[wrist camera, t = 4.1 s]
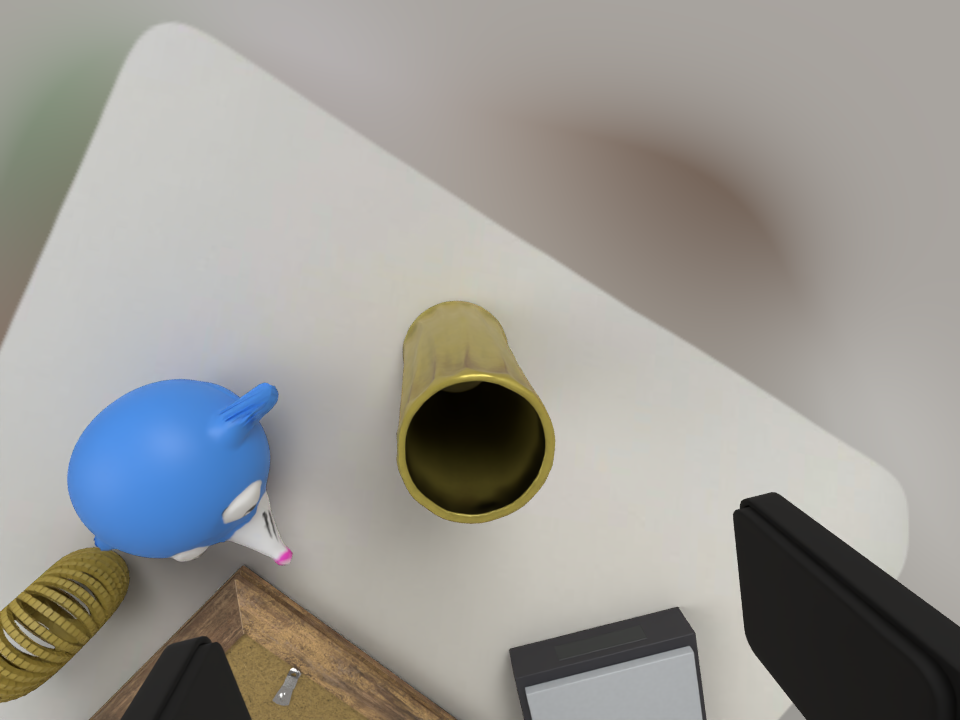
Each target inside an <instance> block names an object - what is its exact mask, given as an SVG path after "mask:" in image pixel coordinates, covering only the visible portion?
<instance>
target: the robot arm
mask: <svg viewBox="0 0 960 720" xmlns="http://www.w3.org/2000/svg"><path fill="white" fill-rule="evenodd" d="M733 521H734V531H735V541H736V551H737V561H738V571H739V580H740V590H741V600H742V610H743V620H744V630H745V635H746V638H747V641H748V643H749V645H750V647H751V649H752V651H753V652H754V653H755V655H756V656H757V657H758V659H759V660H760V661H761V663H762V664H763V665H764V666H765V668H766V669H767V670H768V671H769V673H770V674H771V675H772V677H773V678H774V679H775V680H776V682H777V683H778V684H779V685H780V687H781V688H782V689H783V691H784V692H785V693H786V694H787V696H788V697H789V698H790V699H791V701H792V702H793V703H794V704H795V706H796V707H797V708H798V710H799V711H800V712H801V713H802V714H803V716H804V717H805V718H806V720H960V627H959V626H958V625H957V624H955V623H954V622H953V621H951V620H950V619H949V618H947V617H946V616H944V615H943V614H941V613H940V612H939V611H938V610H936V609H935V608H933V607H932V606H931V605H929V604H928V603H927V602H925V601H924V600H923V599H921V598H920V597H918V596H917V595H916V594H914V593H913V592H912V591H910V590H909V589H907V588H906V587H905V586H904V585H902V584H901V583H899V582H898V581H897V580H895V579H894V578H893V577H891V576H890V575H889V574H887V573H886V572H884V571H883V570H882V569H880V568H879V567H878V566H876V565H875V564H874V563H872V562H871V561H869V560H868V559H867V558H865V557H864V556H863V555H861V554H860V553H859V552H857V551H856V550H854V549H853V548H852V547H850V546H849V545H848V544H846V543H845V542H844V541H842V540H841V539H839V538H838V537H837V536H835V535H834V534H833V533H831V532H830V531H829V530H827V529H826V528H824V527H823V526H822V525H820V524H819V523H818V522H816V521H815V520H814V519H812V518H811V517H809V516H808V515H807V514H805V513H804V512H803V511H801V510H800V509H799V508H797V507H796V506H794V505H793V504H792V503H790V502H789V501H788V500H786V499H785V498H784V497H782V496H781V495H779V494H777V493H775V492H771V493H767V494H763V495H759V496H755V497H751V498H747V499H744V500H742V501H741V504H740V509H738V510H735V511H734V514H733ZM120 720H252V719H251V716H250V714H249V711H248V709H247V707H246V704H245V702H244V699H243V697H242V694H241V692H240V689H239V687H238V684H237V682H236V679H235V677H234V675H233V672H232V670H231V667H230V665H229V662H228V660H227V657H226V655H225V652H224V650H223V648H222V646H221V644H220V643H218V642H213V643H212V641H211V640H210V639H209V638H208V637H207V636H200V637H196V638H192V639H188V640H184V641H180V642H176V643H173V644H170V645H168V646H167V647H166V648H165V649H164V651H163V652H162V654H161V655H160V657H159V659H158V660H157V662H156V663H155V665H154V667H153V668H152V670H151V671H150V673H149V675H148V676H147V678H146V679H145V681H144V683H143V684H142V686H141V687H140V689H139V691H138V692H137V694H136V695H135V697H134V699H133V700H132V702H131V703H130V705H129V707H128V708H127V710H126V711H125V713H124V715H123V716H122V718H121V719H120Z"/></svg>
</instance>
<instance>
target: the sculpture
mask: <svg viewBox="0 0 960 720" xmlns="http://www.w3.org/2000/svg"><path fill="white" fill-rule="evenodd" d="M97 569H98V570H97ZM80 571H82V572H85V573H88V574H89V575H90V576H91V577H93V578H90V576H89V575H88V576H87V574H85V573H82V572H80ZM66 578H67V579H66ZM70 578H71V579H73V580H75V581H76V580H77V582H79V581H80V583H82V584H84V585H85V586H87V587H88V588H89V589H90V591H92V593H93V595H94V597H96V598H95V599H97V600H94V599H93V596H91V595H90V594H89V593H88V592H87V591H85V589H84V588H83V587H80V585H79V584H76V583H74V581H72V580H70ZM68 579H69V580H68ZM129 580H130V577H129V571H128V567H127V565H126V563H125V561H124V560H123V559H122V558H121V556H120V555H118V554H117V553H115V552H113V551H111V550H109V551H101V550H100V548H96V547H93V548H85V549H80V550H77V551H75V552H72V553H70V554H68V555H66V556H64V557H63V558H61V559H60V560H59V561H57V562H56V563H55V564H54V565H52V566H51V567H50V568H49V569H48V570H47V571H46V572H44V573H43V574H42V575H41V576H40V577H39V578H38V579H37V580H35V581H34V582H33V584H31V585H30V586H29V587H27V588H26V589H25V590H24V592H22V593H21V594H20V595H18V596H17V598H15V600H13V601H12V602H11V603H9V605H7V606H6V607H5V608H4V609H3V610H2V611H0V651H1V650H2V651H1V652H0V703H1V702H8V701H11V700H15V699H17V698H19V697H22V696H25V695H27V694H28V693H30V692H31V691H34V690H35V689H37V688H38V687H39V686H41V685H42V684H43V683H45V682H46V681H47V680H48V679H49V678H51V677H52V675H54V674H55V673H57V672H58V671H59V670H60V669H61V668H62V667H63V666H64V665H65V664H66V663H67V662H68V661H69V660H70V659H71V658H72V657H73V656H74V655H75V654H76V653H77V652H78V651H79V650H80V649H81V648H82V647H83V646H84V645H85V644H86V643H87V642H88V641H89V639H91V638H92V637H93V636H94V635H95V634H96V633H97V631H99V629H100V628H101V627H102V626H103V625H104V624H105V623H106V622H107V620H108V619H109V618H110V617H111V616H112V615H113V613H114V611H116V610H117V608H118V607H119V605H120V604H121V602H122V601H123V599H124V597H125V595H126V593H127V591H128V590H127V589H128V586H129ZM58 588H60V589H58ZM62 589H63V590H64V589H65V591H66V590H67V591H68V592H69V593H70V592H71V594H73V595H74V596H75V595H76V597H77V598H80V600H81V601H82V602H83V603H84V604H85V605H86V606H87V607H88V609H89V611H90V615H88V614H89V613H88V612H87V611H86V609H85V608H83V606H82V605H80V603H79V602H78V601H77V600H76V599H73V598H72V596H71V597H70V596H69V594H68V593H66V592H65V591H63V590H62ZM47 597H48V598H47ZM69 597H70V598H69ZM68 598H69V599H68ZM51 599H52V600H51ZM53 601H54V602H53ZM56 603H57V604H56ZM58 604H59V605H60V606H58ZM61 605H62V607H63V608H66V610H69V612H70V613H71V614H74V615H75V617H76V616H77V617H76V618H77V619H75V618H74V617H73V616H72V615H71V614H69V613H67V611H66V610H64V609H62V607H61ZM56 612H57V613H56ZM14 620H16V621H17V622H18V623H19V624H21V625H22V626H24V628H25V629H27V630H28V631H29V632H32V634H33V635H35V636H36V637H38V638H41V640H43V641H45V642H47V643H48V644H49V643H50V645H51V644H53V646H55V649H52V648H50V649H49V648H47V647H44V646H41V645H39V644H38V643H36V642H34V641H33V640H32V639H31V640H30V638H29V637H28V636H27V635H26V634H25V635H26V636H25V635H24V632H23V631H22V632H23V633H22V632H21V631H20V630H19V629H20V628H19V627H18V626H16V623H14V622H15V621H14ZM39 622H40V623H42V624H44V625H45V626H46V627H48V628H49V630H47V628H46V627H45V628H44V626H43V625H41V624H39ZM2 629H4V630H5V631H6V632H7V634H8V635H9V636H10V637H11V638H12V639H13V640H14V641H15V640H16V641H17V643H18V644H21V645H20V646H21V647H22V646H23V648H24V649H27V651H29V652H30V653H32V654H34V655H36V656H35V657H33V656H32V655H31V656H30V655H29V654H26V653H24V652H23V653H22V651H20V650H18V649H17V648H16V647H15V648H14V646H13V645H12V644H11V643H10V642H9V641H8V640H7V638H6V637H4V636H5V634H3V633H4V632H3V630H2ZM16 641H15V642H16ZM3 654H4V655H5V658H4V655H3ZM7 655H8V656H7ZM6 656H7V657H6ZM37 656H40V657H37ZM7 658H8V659H7ZM13 660H14V661H13Z"/></svg>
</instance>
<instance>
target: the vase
mask: <svg viewBox="0 0 960 720" xmlns="http://www.w3.org/2000/svg"><path fill="white" fill-rule="evenodd" d="M403 359H404V370H403V384H402V395H401V405H400V416H399V426H398V430H397V458H396V460H397V465H398V470H399V472H400V475H401V477H402V479H403V481H404V484H405V486H406V488H407V490H408V491H409V493H410V494H411V496H412V497H413V498H414V499H415V500H416V501H417V502H418V503H420V504H421V505H422V506H424V507H425V508H427V509H428V510H429V511H431V512H432V513H434V514H435V515H437V516H439V517H441V518H443V519H446V520H449V521H453V522H459V523H470V524H474V523H484V522H489V521H492V520H495V519H498V518H501V517H504V516H507V515H509V514H511V513H513V512H515V511H517V510H518V509H520V508H521V507H523V506H524V505H525V504H526V503H527V502H529V501H530V500H531V499H532V497H533V496H534V495H535V494H536V493H537V492H538V491H539V489H540V488H541V487H542V485H543V484H544V483H545V481H546V479H547V477H548V474H549V472H550V470H551V468H552V465H553V459H554V451H555V435H554V429H553V425H552V422H551V419H550V417H549V415H548V413H547V411H546V409H545V407H544V405H543V403H542V401H541V399H540V398H539V396H538V395H537V393H536V392H535V391H534V389H533V388H532V386H531V385H530V383H529V381H528V380H527V378H526V377H525V375H524V373H523V372H522V370H521V368H520V367H519V365H518V363H517V361H516V359H515V357H514V355H513V353H512V352H511V350H510V348H509V347H508V342H507V339H506V336H505V333H504V330H503V328H502V326H501V325H500V323H499V322H498V320H497V319H496V318H495V317H494V316H493V315H492V314H491V313H489V312H488V311H486V310H485V309H483V308H482V307H480V306H478V305H475V304H472V303H469V302H463V301H449V302H444V303H440V304H437V305H435V306H433V307H431V308H429V309H427V310H426V311H424V312H423V313H422V314H421V315H419V316H418V317H417V318H416V320H415V321H414V322H413V323H412V325H411V326H410V328H409V330H408V332H407V335H406V337H405V340H404V344H403Z"/></svg>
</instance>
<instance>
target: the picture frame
mask: <svg viewBox="0 0 960 720" xmlns="http://www.w3.org/2000/svg"><path fill="white" fill-rule="evenodd" d="M200 636H207V637H208V638H209V639H210V640H211V641H212V643H213V642H218V643H220V644H221V646H222V648H223V650H224V652H225V655H226V657H227V660H228V662H229V665H230V667H231V670H232V672H233V675H234V677H235V679H236V682H237V684H238V687H239V689H240V692H241V694H242V697H243V699H244V702H245V704H246V707H247V709H248V711H249V714H250V716H251V719H252V720H457V719H455V718H454V717H453V716H451V715H450V714H448V713H447V712H446V711H444V710H443V709H442V708H440V707H439V706H437V705H436V704H435V703H433V702H432V701H431V700H429V699H428V698H426V697H425V696H424V695H422V694H421V693H419V692H418V691H417V690H415V689H414V688H413V687H411V686H410V685H408V684H407V683H406V682H404V681H403V680H402V679H400V678H399V677H397V676H396V675H395V674H393V673H392V672H390V671H389V670H388V669H386V668H385V667H384V666H382V665H381V664H379V663H378V662H377V661H375V660H374V659H373V658H371V657H370V656H368V655H367V654H366V653H364V652H363V651H361V650H360V649H359V648H357V647H356V646H355V645H353V644H352V643H350V642H349V641H348V640H346V639H345V638H344V637H342V636H341V635H339V634H338V633H337V632H335V631H334V630H332V629H331V628H330V627H328V626H327V625H326V624H324V623H323V622H321V621H320V620H319V619H317V618H316V617H314V616H313V615H312V614H310V613H309V612H308V611H306V610H305V609H303V608H302V607H301V606H299V605H298V604H297V603H295V602H294V601H292V600H291V599H290V598H288V597H287V596H285V595H284V594H283V593H281V592H280V591H279V590H277V589H276V588H274V587H273V586H272V585H270V584H269V583H268V582H266V581H265V580H263V579H262V578H261V577H259V576H258V575H256V574H255V573H254V572H252V571H251V570H250V569H248V568H247V567H245V566H242V567H241V568H240V569H239V570H238V571H237V572H236V573H235V574H234V575H233V576H232V577H231V578H230V579H229V580H228V581H227V582H226V583H225V584H224V585H223V586H222V587H221V588H220V589H219V590H218V591H217V592H216V593H215V594H214V595H213V596H212V597H211V598H210V599H209V600H208V601H207V602H206V603H205V604H204V605H203V606H202V607H201V608H200V609H199V610H198V611H197V612H196V613H195V614H194V615H193V616H192V617H191V618H190V619H189V620H188V621H187V622H186V623H185V624H184V625H183V626H182V627H181V628H180V629H179V630H178V631H177V632H176V633H175V634H174V635H173V636H172V637H171V638H170V639H169V640H168V641H167V642H166V643H165V644H164V645H163V646H162V647H161V648H160V649H159V650H158V651H157V652H156V653H155V654H154V655H153V656H152V657H151V658H150V659H149V660H148V661H147V662H146V663H145V664H144V665H143V666H142V667H141V668H140V669H139V670H138V671H137V672H136V673H135V674H134V675H133V676H132V677H131V678H130V679H129V680H128V681H127V682H126V683H125V684H124V685H123V686H122V687H121V688H120V689H119V690H118V691H117V692H116V693H115V694H114V695H113V696H112V697H111V698H110V699H109V700H108V701H107V702H106V703H105V704H104V705H103V706H102V707H101V708H100V709H99V710H98V711H97V712H96V713H95V714H94V715H93V716H92V717H91V718H90V719H89V720H120V719H121V718H122V716H123V715H124V713H125V711H126V710H127V708H128V707H129V705H130V703H131V702H132V700H133V699H134V697H135V695H136V694H137V692H138V691H139V689H140V687H141V686H142V684H143V683H144V681H145V679H146V678H147V676H148V675H149V673H150V671H151V670H152V668H153V667H154V665H155V663H156V662H157V660H158V659H159V657H160V655H161V654H162V652H163V651H164V649H165V648H166V647H167V646H168V645H170V644H173V643H176V642H180V641H184V640H188V639H192V638H196V637H200Z"/></svg>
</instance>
